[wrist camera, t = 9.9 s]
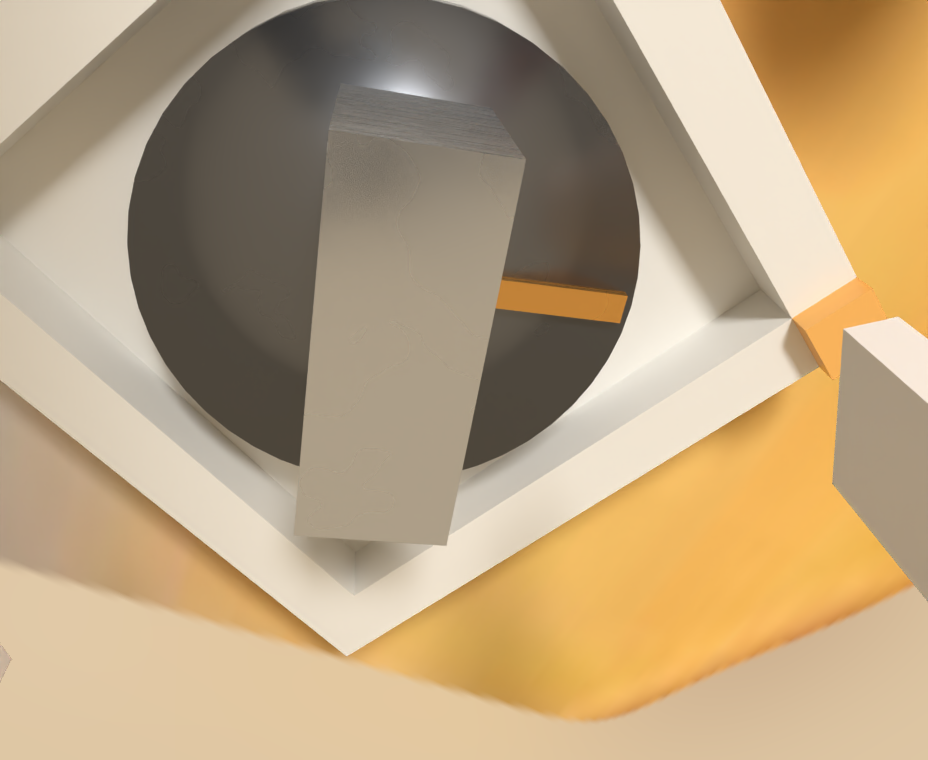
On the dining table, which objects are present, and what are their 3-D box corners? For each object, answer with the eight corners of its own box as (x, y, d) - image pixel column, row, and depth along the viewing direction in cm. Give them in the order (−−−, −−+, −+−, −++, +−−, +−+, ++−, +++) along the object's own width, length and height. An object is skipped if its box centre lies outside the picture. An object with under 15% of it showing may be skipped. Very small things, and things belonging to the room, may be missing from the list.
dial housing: (-131, 167, 21) (-242, 216, 17) (463, -403, 17) (488, -504, 13) (349, 582, 30) (345, 675, 26) (820, 280, 26) (897, 340, 22)
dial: (150, 427, 24) (75, 589, 18) (139, -58, 18) (20, -56, 12) (563, 463, 26) (617, 618, 20) (680, 42, 20) (809, 86, 14)
